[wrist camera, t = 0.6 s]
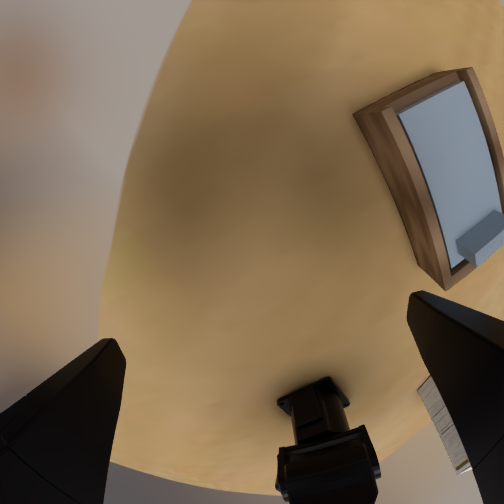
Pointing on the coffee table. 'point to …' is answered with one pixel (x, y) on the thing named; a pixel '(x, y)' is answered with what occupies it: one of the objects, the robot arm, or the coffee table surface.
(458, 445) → the syrup box
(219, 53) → the coffee table surface
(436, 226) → the pencil box
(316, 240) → the coffee table surface
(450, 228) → the cover plate
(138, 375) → the coffee table surface
